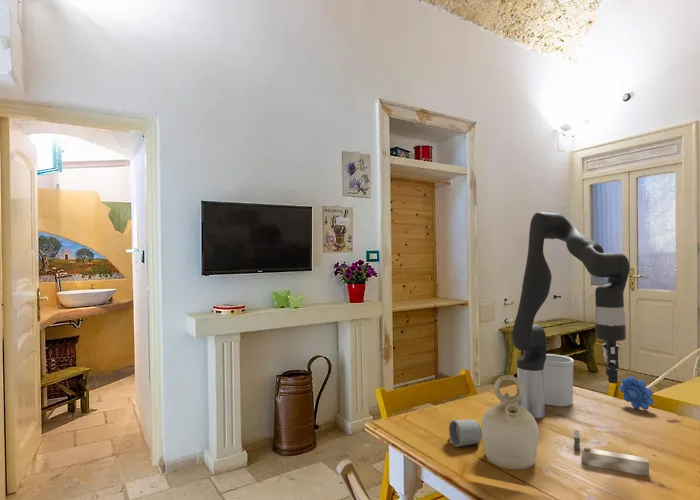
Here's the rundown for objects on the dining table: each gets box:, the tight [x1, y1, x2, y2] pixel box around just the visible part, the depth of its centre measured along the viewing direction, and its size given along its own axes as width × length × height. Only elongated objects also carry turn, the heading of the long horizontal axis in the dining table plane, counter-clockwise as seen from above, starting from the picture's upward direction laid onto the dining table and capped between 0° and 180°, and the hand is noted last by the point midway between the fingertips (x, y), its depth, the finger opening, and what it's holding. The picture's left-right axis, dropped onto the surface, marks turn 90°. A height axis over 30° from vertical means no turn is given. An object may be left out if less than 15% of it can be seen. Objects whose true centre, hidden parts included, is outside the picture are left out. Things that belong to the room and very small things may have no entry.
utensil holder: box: [544, 353, 575, 407], centre depth 176 cm, size 15×15×18 cm
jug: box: [480, 374, 540, 471], centre depth 124 cm, size 15×16×25 cm
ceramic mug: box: [448, 419, 483, 448], centre depth 138 cm, size 11×8×8 cm
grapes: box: [618, 375, 655, 411], centre depth 166 cm, size 12×7×12 cm, turn 35°
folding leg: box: [580, 446, 650, 477], centre depth 117 cm, size 16×3×4 cm, turn 63°
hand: (611, 379), depth 124 cm, fingers open, 8 cm apart
